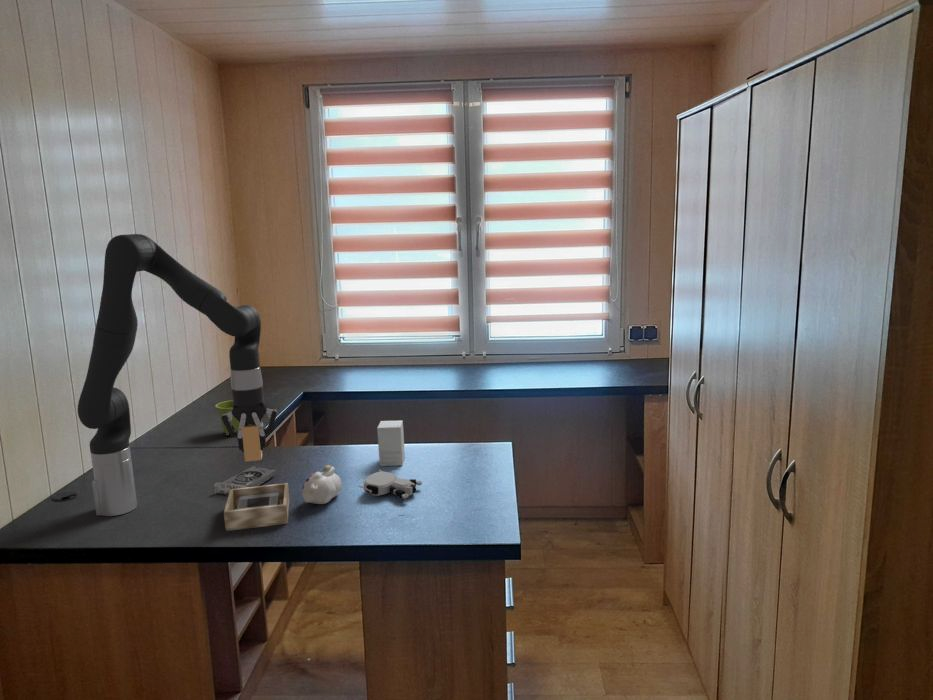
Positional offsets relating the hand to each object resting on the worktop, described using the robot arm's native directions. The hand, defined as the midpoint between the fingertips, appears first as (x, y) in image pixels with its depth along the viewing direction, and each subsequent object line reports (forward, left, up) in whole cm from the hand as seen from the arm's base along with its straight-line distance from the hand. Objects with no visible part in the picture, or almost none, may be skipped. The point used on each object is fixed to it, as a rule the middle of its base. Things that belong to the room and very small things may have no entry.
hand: (253, 449), depth 171 cm
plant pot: (-13, +75, -18) cm, 78 cm away
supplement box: (+38, +29, -18) cm, 51 cm away
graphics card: (-4, +22, -19) cm, 29 cm away
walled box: (0, 0, -18) cm, 18 cm away
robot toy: (+35, +4, -18) cm, 40 cm away
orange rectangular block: (0, 0, -2) cm, 2 cm away
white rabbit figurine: (+16, +5, -18) cm, 25 cm away
